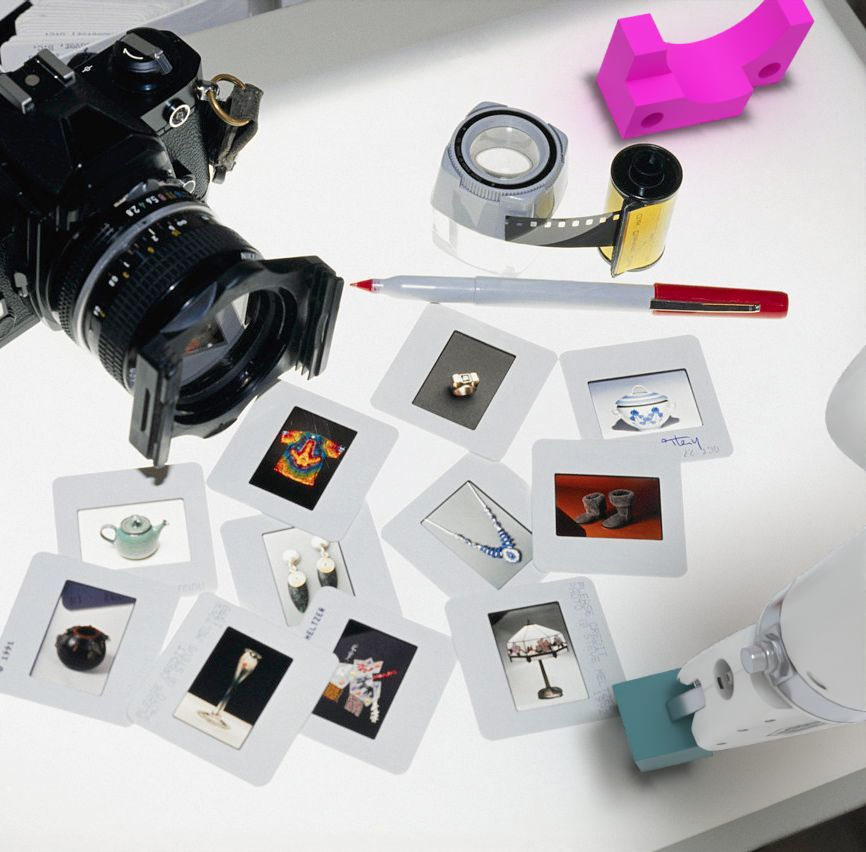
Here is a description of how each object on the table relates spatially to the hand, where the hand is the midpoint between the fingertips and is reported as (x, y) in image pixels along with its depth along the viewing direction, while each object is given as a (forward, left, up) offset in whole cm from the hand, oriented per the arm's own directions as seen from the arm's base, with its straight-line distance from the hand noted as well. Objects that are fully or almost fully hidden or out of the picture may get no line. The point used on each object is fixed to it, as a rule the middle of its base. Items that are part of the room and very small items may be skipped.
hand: (718, 716), depth 78 cm
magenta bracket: (-15, -50, -3) cm, 52 cm away
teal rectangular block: (+3, 0, -2) cm, 3 cm away
